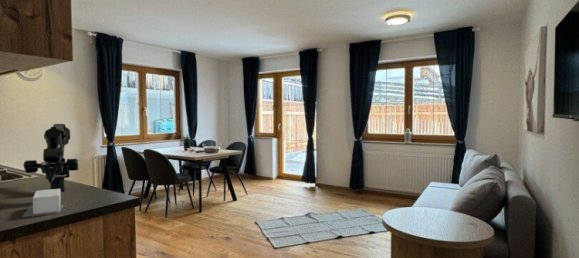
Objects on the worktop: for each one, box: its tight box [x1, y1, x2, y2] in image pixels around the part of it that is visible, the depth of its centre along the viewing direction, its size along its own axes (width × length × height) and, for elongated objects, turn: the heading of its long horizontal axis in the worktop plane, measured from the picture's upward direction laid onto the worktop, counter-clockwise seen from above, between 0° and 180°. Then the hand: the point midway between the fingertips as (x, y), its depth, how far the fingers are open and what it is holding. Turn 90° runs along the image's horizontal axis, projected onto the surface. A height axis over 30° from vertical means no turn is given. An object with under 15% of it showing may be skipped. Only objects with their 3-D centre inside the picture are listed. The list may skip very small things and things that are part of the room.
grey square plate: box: [21, 204, 65, 218], centre depth 122 cm, size 11×11×1 cm
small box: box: [32, 189, 62, 215], centre depth 124 cm, size 8×6×13 cm
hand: (50, 182), depth 133 cm, fingers closed
